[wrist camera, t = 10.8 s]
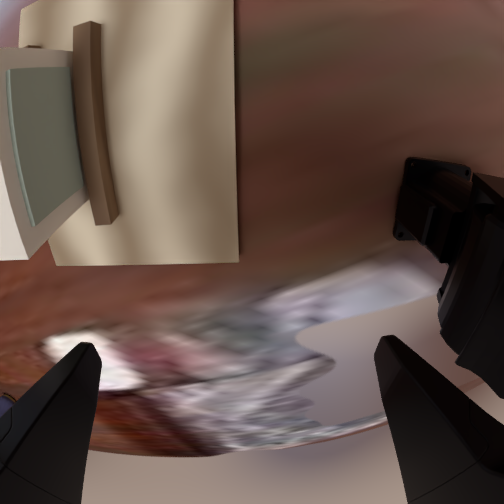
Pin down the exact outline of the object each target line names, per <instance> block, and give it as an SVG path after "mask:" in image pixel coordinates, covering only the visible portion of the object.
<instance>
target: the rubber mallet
mask: <svg viewBox="0 0 504 504" xmlns="http://www.w3.org/2000/svg"><path fill="white" fill-rule="evenodd" d="M14 403H15V401H14V400H13V399H12V398H11V397H10V396H8V395H4V396H1V397H0V417H1V416H2V415H3V414H4V413H5V412H6V411H7V410H8V409H9V408H10V407H12V405H13V404H14Z"/></svg>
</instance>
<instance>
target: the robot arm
mask: <svg viewBox="0 0 504 504" xmlns="http://www.w3.org/2000/svg"><path fill="white" fill-rule="evenodd" d="M413 162H414V166H413V167H411V164H412V163H413ZM465 171H466V173H465ZM470 176H471V169H470V168H469V167H467V166H465V165H461V164H455V163H449V162H443V161H437V160H430V159H423V158H416V157H410V158H408V159H407V160H406V164H405V171H404V177H403V184H402V186H401V189H400V195H399V200H398V205H397V211H396V216H395V217H396V221H395V226H394V231H393V236H394V237H395V238H396V239H397V240H399V241H400V240H417V241H418V242H419V243H420V244H421V245H422V246H425V247H426V248H427V249H428V250H429V251H430V252H431V253H432V255H433V256H434V257H435V258H436V259H437V260H438V261H439V262H440V263H445V264H446V265H447V266H448V267H449V268H448V271H447V273H446V276H445V279H444V281H443V284H442V287H441V288H439V290H438V293H437V299H438V303H439V307H438V318H439V322H440V325H441V330H440V334H441V336H442V337H443V339H444V340H445V342H446V343H447V345H448V346H449V347H450V348H451V349H452V350H453V351H454V352H455V353H456V354H458V355H459V356H458V358H457V359H456V361H455V363H456V364H457V365H458V366H461V367H463V368H466V369H468V370H471V371H472V372H473V373H475V374H476V375H478V376H479V377H481V378H482V379H483V380H484V381H485V382H486V383H487V384H488V385H489V386H490V387H491V389H492V390H493V391H494V392H495V393H496V394H497V395H498V396H499V397H500V398H502V399H504V178H500V177H495V176H490V175H485V174H480V173H474V172H473V176H472V182H473V183H471V182H469V181H470ZM399 232H401V234H400V235H398V234H399ZM374 361H375V366H376V371H377V376H378V381H379V387H380V392H381V398H382V402H383V406H384V409H385V413H386V416H387V420H388V423H389V427H390V430H391V434H392V438H393V442H394V446H395V450H396V454H397V458H398V462H399V466H400V470H401V475H402V479H403V483H404V488H405V493H406V497H407V502H408V504H504V425H503V424H502V423H500V422H499V421H497V420H496V419H495V418H493V417H492V416H490V415H489V414H488V413H486V412H485V411H484V410H483V409H482V408H481V407H479V406H478V405H477V404H476V403H475V402H473V401H472V400H471V399H469V397H468V396H466V395H465V394H464V393H463V392H462V391H461V390H459V389H458V388H457V387H456V386H455V385H454V384H452V383H451V382H450V381H449V380H448V379H447V378H445V377H444V376H443V375H442V374H441V373H439V372H438V371H437V370H436V369H435V368H434V367H432V366H431V365H430V364H429V363H427V362H426V361H425V360H424V359H422V357H420V356H419V355H418V354H417V353H416V352H414V351H413V350H412V349H410V347H408V346H407V345H406V344H405V343H403V342H402V341H401V340H400V339H398V338H397V337H396V336H394V335H387V336H382V337H381V339H380V341H379V343H378V346H377V348H376V351H375V354H374ZM101 368H102V361H101V358H100V356H99V354H98V352H97V351H96V349H95V347H94V345H93V344H92V343H89V342H80V343H79V344H78V345H77V346H75V347H74V348H73V349H72V350H71V351H70V352H69V353H68V354H67V355H65V356H64V357H63V358H62V359H61V360H60V361H59V362H58V363H57V364H56V365H55V366H53V367H52V368H51V369H50V370H49V371H48V372H47V373H46V374H45V375H44V376H43V377H42V378H41V379H39V380H38V381H37V382H36V383H35V384H34V385H33V386H32V387H31V388H30V389H29V390H28V391H27V392H26V393H25V394H24V395H23V396H22V397H21V398H20V399H19V400H18V401H17V402H15V403H14V404H13V405H12V407H10V408H9V409H8V410H7V411H6V412H5V413H4V414H3V415H2V416H1V417H0V504H81V499H82V490H83V482H84V474H85V467H86V460H87V454H88V448H89V442H90V437H91V432H92V426H93V421H94V417H95V412H96V407H97V400H98V391H99V383H100V375H101Z"/></svg>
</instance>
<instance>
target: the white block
mask: <svg viewBox="0 0 504 504" xmlns="http://www.w3.org/2000/svg"><path fill="white" fill-rule="evenodd" d="M88 200H89V195H88V190H87V185H86V180H85V174H84V169H83V163H82V157H81V150H80V143H79V135H78V127H77V118H76V108H75V95H74V78H73V51H65V50H54V49H40V48H0V260H28V259H30V257H31V256H32V255H33V254H34V253H35V252H36V251H37V250H38V249H39V248H40V247H41V246H42V244H43V243H44V242H45V241H46V240H47V239H48V238H49V237H50V236H51V235H52V234H53V233H54V232H55V231H56V230H57V229H58V228H59V227H60V226H61V225H62V224H63V223H64V222H65V221H66V220H67V219H68V218H69V217H70V216H72V215H73V214H74V213H75V212H76V211H77V210H78V209H79V208H80V207H81V206H82V205H83V204H84V203H86V202H87V201H88Z"/></svg>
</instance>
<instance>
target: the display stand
mask: <svg viewBox="0 0 504 504" xmlns="http://www.w3.org/2000/svg"><path fill="white" fill-rule="evenodd" d="M19 48H40V49H54V50H65V51H73V78H74V95H75V108H76V118H77V127H78V135H79V143H80V150H81V157H82V163H83V169H84V174H85V180H86V185H87V190H88V195H89V200H88V201H87V202H86V203H84V204H83V205H82V206H81V207H80V208H79V209H78V210H77V211H76V212H75V213H74V214H73V215H72V216H70V217H69V218H68V219H67V220H66V221H65V222H64V223H63V224H62V225H61V226H60V227H59V228H58V229H57V230H56V231H55V232H54V233H53V234H52V235H51V236H50V237H49V238H48V242H49V245H50V248H51V251H52V254H53V257H54V259H55V262H56V265H57V266H89V265H150V264H197V263H237V262H239V244H238V213H237V179H236V139H235V87H234V0H39V1H37V2H35V3H33V4H31V5H29V6H27V7H25V8H23V9H21V17H20V30H19Z"/></svg>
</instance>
